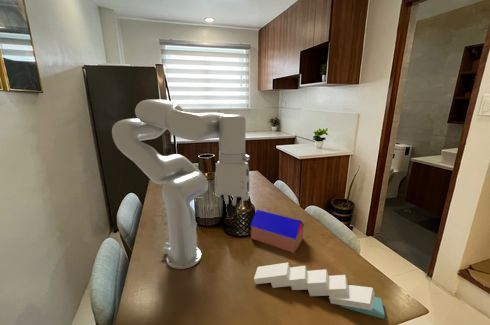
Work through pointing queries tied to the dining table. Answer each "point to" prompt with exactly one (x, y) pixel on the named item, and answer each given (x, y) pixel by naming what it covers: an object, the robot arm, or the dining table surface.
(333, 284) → the domino
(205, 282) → the dining table surface
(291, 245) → the house
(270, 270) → the domino
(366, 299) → the domino
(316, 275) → the domino
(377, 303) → the domino
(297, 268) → the domino
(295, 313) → the dining table surface
